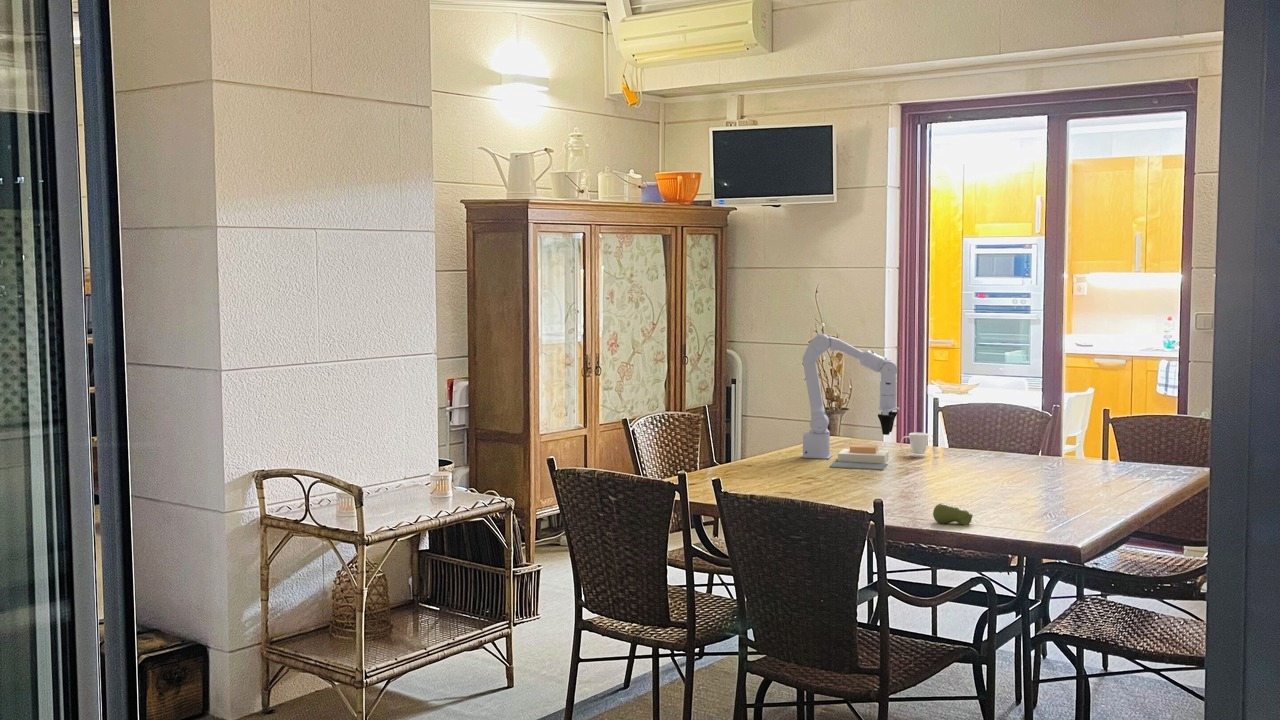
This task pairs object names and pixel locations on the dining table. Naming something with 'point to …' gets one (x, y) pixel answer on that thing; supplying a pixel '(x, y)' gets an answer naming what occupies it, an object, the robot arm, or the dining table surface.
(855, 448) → the tile
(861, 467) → the mat
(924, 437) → the cup
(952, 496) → the dining table surface
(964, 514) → the pear
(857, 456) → the cream flat block
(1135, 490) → the dining table surface
